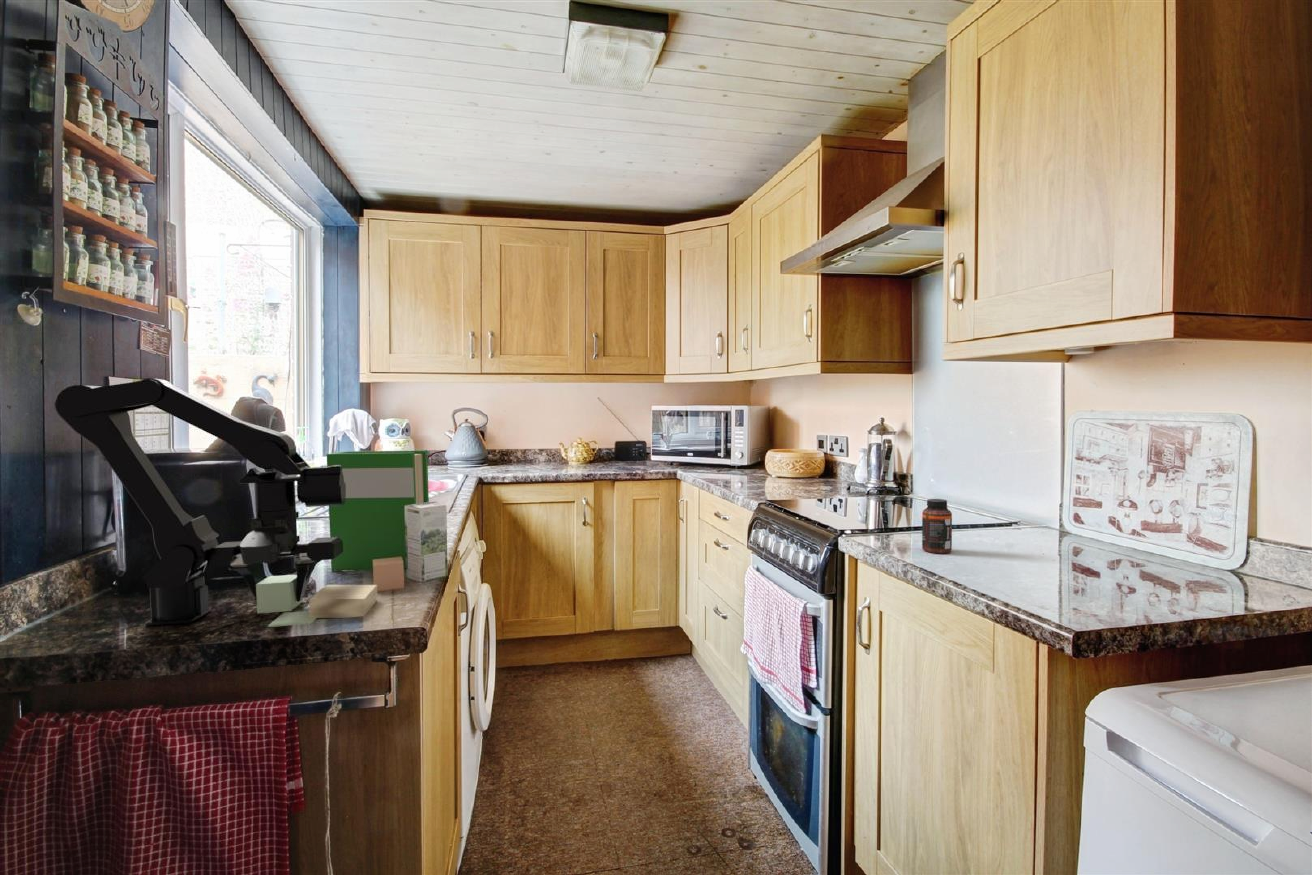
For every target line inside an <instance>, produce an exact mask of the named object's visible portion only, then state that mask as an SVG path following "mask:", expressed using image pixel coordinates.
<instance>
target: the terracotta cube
mask: <svg viewBox="0 0 1312 875" xmlns="http://www.w3.org/2000/svg"><path fill="white" fill-rule="evenodd" d="M404 572H405V571H404V568H403V560H402V557H393V558H384V559H374V560H373V571H372V577H373V578H372V580H373V581H372V582H373V584H372V585H377V592H382V591H390V590H391V591H393V590H399V589H404V588H405V574H404Z"/></svg>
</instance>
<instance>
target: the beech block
mask: <svg viewBox="0 0 1312 875" xmlns="http://www.w3.org/2000/svg"><path fill="white" fill-rule="evenodd" d="M377 595H378V591H377V585H374V584H325V585H324V586H323V587H322V588H321V589H320V590H318V592H316V593H315V594H314V595H313V596H311V597H310V598H309V600H308V603H309V604H308V605H309V606H308V611H309V618H317V619H333V618H334V619H339V618H341V619H343V618H357V617H365V615H366V614H367V613H368V612H369V610H370V609H371V608H372V607H373V606H374V605H375V603H376V602H377V598H378V596H377Z"/></svg>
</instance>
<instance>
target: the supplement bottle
mask: <svg viewBox="0 0 1312 875" xmlns="http://www.w3.org/2000/svg"><path fill="white" fill-rule="evenodd" d="M926 506H927V507H926V508H925V509H923V510H922V513H921V514H922V515H921V517H922V518H921V519H922V520H921V525H922V526H921V539H922V540H921V548H922V550H923V551H925V552H927V553H931V554H949V553H950V552H952V545H953V543H952V542H953V541H952V540H953V539H952V538H953V537H952V536H953V532H952V531H953V529H952V528H953V514H952V511H951V510H949V509H948V500H946V499H941V498H929V499H927V500H926Z"/></svg>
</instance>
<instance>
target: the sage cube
mask: <svg viewBox="0 0 1312 875" xmlns="http://www.w3.org/2000/svg"><path fill="white" fill-rule="evenodd" d="M296 584H297V574H285V575H284V574H283V575H271V576H267V577H266V578H263V580H262V581H261V582H259V583H257V584H256V595H257V601H256V611H257V613H256V614H267V613H268V614H269V613H280V612H281V613H282V612H283V613H285V612H293V611H294V609H296V608H297V607H298V606H299V605H300V604H302V603H303V599H302V600H301V601H300V602H297V597H296Z"/></svg>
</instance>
